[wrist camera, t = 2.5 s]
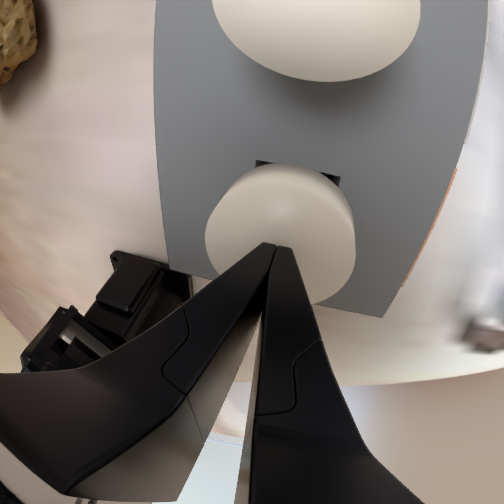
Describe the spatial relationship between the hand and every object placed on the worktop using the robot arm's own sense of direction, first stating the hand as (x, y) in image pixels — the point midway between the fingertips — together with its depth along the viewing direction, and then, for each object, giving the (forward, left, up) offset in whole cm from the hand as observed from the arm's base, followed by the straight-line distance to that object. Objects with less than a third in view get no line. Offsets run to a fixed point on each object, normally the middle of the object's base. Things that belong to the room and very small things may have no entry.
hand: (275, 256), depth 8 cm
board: (+7, 0, -6) cm, 9 cm away
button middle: (+7, 0, -4) cm, 8 cm away
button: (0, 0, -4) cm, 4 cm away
